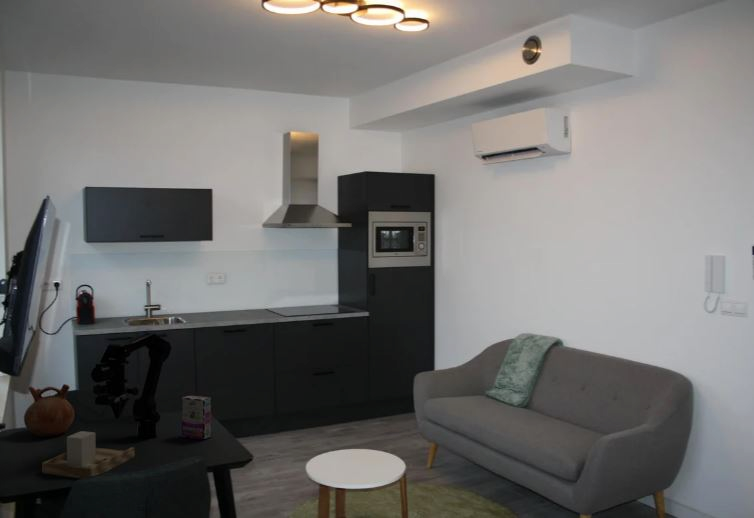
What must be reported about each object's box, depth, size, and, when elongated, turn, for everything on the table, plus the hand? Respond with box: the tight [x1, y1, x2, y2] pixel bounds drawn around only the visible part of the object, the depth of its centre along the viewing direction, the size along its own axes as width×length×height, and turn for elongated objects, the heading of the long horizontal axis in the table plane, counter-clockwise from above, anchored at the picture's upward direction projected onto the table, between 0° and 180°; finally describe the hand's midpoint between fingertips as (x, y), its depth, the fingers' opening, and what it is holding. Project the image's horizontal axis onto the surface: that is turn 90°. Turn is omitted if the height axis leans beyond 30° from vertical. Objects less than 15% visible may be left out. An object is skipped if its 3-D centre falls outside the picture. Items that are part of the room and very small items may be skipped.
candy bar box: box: [181, 394, 212, 440], centre depth 265 cm, size 11×5×16 cm, turn 68°
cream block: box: [66, 430, 97, 467], centre depth 229 cm, size 7×6×10 cm
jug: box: [23, 384, 75, 438], centre depth 269 cm, size 18×18×20 cm
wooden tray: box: [41, 446, 136, 479], centre depth 233 cm, size 24×20×4 cm
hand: (117, 418), depth 250 cm, fingers closed
